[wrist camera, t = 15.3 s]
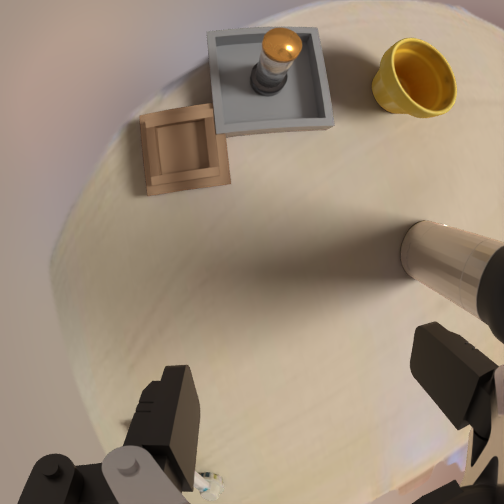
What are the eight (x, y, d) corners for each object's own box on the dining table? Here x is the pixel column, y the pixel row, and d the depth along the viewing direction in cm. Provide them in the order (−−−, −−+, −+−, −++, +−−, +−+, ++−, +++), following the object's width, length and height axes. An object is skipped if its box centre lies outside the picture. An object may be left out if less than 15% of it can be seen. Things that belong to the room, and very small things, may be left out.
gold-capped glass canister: (283, 67, 33) (305, 26, 22) (284, 97, 34) (307, 65, 23) (249, 65, 33) (258, 22, 21) (249, 96, 34) (258, 61, 22)
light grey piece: (145, 429, 41) (227, 504, 44) (156, 408, 48) (229, 483, 50) (125, 436, 42) (207, 509, 44) (136, 416, 48) (210, 488, 51)
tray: (310, 38, 33) (317, 27, 29) (325, 130, 36) (334, 125, 33) (208, 43, 32) (206, 31, 29) (217, 138, 36) (216, 133, 32)
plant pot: (348, 63, 34) (378, 36, 24) (404, 59, 34) (440, 38, 24) (372, 130, 36) (409, 119, 27) (426, 121, 36) (467, 112, 27)
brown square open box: (222, 107, 35) (221, 98, 30) (231, 183, 37) (230, 184, 33) (146, 120, 34) (135, 113, 30) (153, 194, 37) (144, 196, 32)
